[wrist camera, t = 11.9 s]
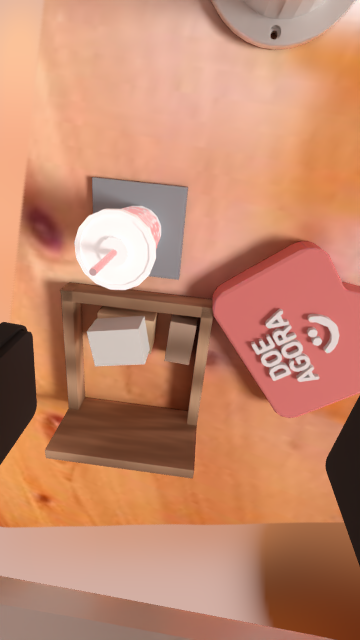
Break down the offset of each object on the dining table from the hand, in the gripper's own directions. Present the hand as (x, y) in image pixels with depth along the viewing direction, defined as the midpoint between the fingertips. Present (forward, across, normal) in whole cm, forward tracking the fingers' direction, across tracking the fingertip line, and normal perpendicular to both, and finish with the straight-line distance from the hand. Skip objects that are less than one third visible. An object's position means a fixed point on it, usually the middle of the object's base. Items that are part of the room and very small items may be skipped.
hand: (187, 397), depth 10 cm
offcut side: (+26, 0, +13) cm, 29 cm away
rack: (+25, +5, +17) cm, 31 cm away
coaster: (+26, +7, +2) cm, 27 cm away
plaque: (+26, -13, +9) cm, 31 cm away
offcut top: (+23, +7, +12) cm, 27 cm away
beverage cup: (+25, +6, +2) cm, 26 cm away
